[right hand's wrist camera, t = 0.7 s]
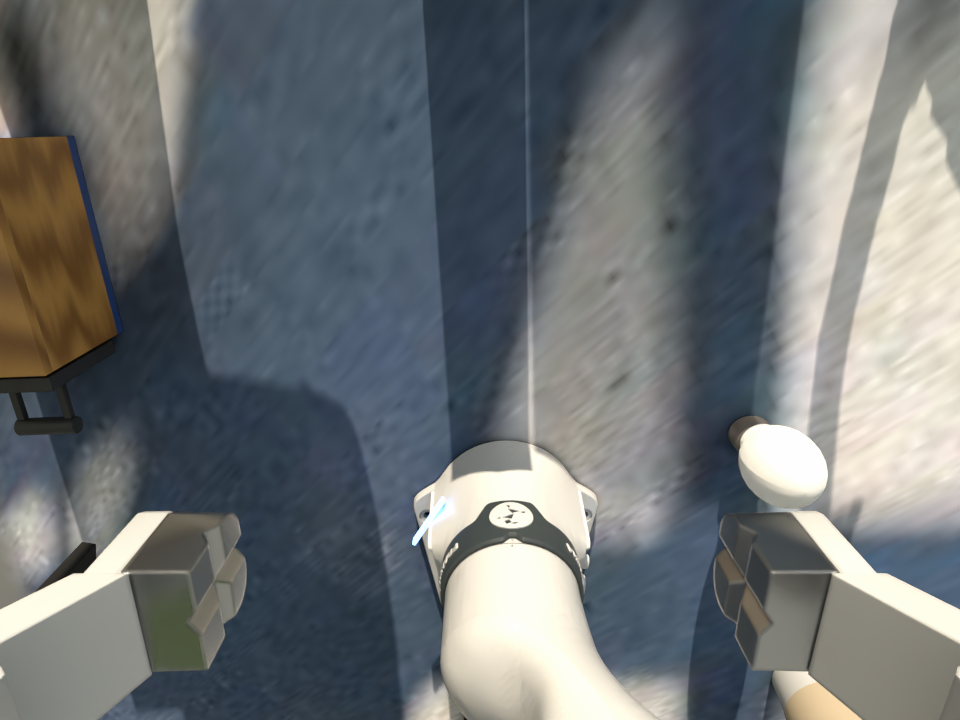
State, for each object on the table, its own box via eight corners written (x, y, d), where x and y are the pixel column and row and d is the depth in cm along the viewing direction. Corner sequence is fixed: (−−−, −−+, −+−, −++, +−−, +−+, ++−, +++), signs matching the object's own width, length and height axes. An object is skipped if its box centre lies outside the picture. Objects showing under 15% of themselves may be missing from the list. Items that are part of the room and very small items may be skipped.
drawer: (130, 407, 59) (71, 454, 51) (39, 410, 60) (-34, 458, 51) (69, 173, 52) (-12, 183, 43) (-35, 178, 52) (-136, 188, 43)
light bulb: (709, 458, 62) (754, 524, 52) (724, 397, 60) (775, 453, 50) (775, 463, 62) (833, 530, 52) (793, 402, 60) (857, 459, 50)
